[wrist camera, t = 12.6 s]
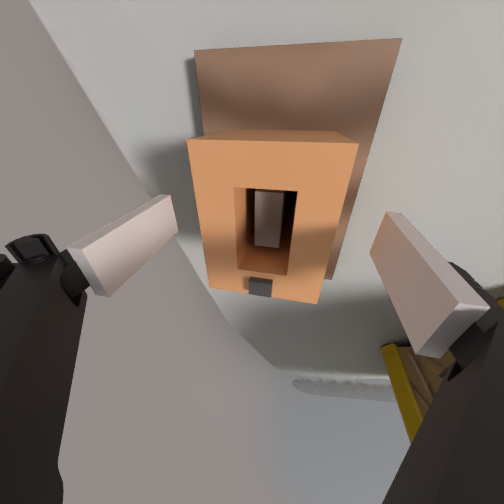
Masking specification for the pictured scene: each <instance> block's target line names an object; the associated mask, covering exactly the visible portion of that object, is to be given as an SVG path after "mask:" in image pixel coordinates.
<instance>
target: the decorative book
mask: <svg viewBox="0 0 504 504" xmlns="http://www.w3.org/2000/svg"><path fill="white" fill-rule="evenodd" d="M496 302H497V303H498V304H499V305H500V306H501V307H502V308H503V309H504V298H502V299H499V300H497V301H496ZM381 350H382V354H383V357H384V360H385V364H386V367H387V370H388V374H389V377H390V380H391V384H392V387H393V390H394V394H395V397H396V400H397V403H398V406H399V409H400V412H401V415H402V418H403V421H404V425H405V428H406V431H407V434H408V437H409V440H410V443H412V441H413V439H414V437H415V435H416V433H417V431H418V429H419V427H420V425H421V423H422V421H423V419H424V417H425V415H426V413H427V411H428V409H429V407H430V404H431V402H432V400H433V398H434V396H435V394H436V392H437V390H438V388H439V386H440V384H441V382H442V380H443V378H444V377H443V378H440V377H439V376H438V375H440V374H441V373H442V372H443V371H444V370H445V369H446V368H447V367H448V366H449V365H450V364H452V363H453V362H454V361H455V360H456V359H455V358H454V356H453V355H452V353H451V351H450V350H448V351H447V352H446V353H445V354H444V355H443V356H442V357H441V358H440V359H439V358H433V357H428V356H423V355H417V354H415V352H414V350H413V348H412V347H398V346H396V345H395V344H394V343H392V344H389V345H386V346H384V347H382V348H381Z"/></svg>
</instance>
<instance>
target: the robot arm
mask: <svg viewBox="0 0 504 504" xmlns="http://www.w3.org/2000/svg"><path fill="white" fill-rule="evenodd" d="M178 232H179V230H178V226H177V222H176V218H175V213H174V209H173V205H172V201H171V196H170V195H163V194H159V195H158V196H156V197H154V198H152V199H151V200H149V201H147V202H145V203H144V204H142V205H140V206H138V207H137V208H135V209H133V210H131V211H130V212H128V213H126V214H124V215H122V216H121V217H119V218H117V219H115V220H114V221H112V222H110V223H108V224H106V225H105V226H103V227H102V228H100V229H98V230H96V231H94V232H92V233H91V234H89V235H87V236H85V237H84V238H82V239H80V240H78V241H77V242H75V243H73V244H71V245H69V246H68V247H67V249H66V250H64V251H62V252H61V253H60V252H59V251H58V250H57V248H56V246H55V245H54V243H53V242H52V240H51V239H50V237H49V236H48V235H46V234H33V235H29V236H24V237H21V238H19V239H16V240H14V241H12V242H10V243H8V244H7V245H6V246H5V247H6V248H7V249H8V251H9V252H10V253H11V254H12V255H13V257H14V258H15V259H16V260H17V262H18V263H12V262H11V261H10V260H9V259H8V258H7V256H6V255H4V254H0V504H62V503H63V481H62V478H61V476H60V473H59V470H58V456H59V450H60V445H61V439H62V434H63V428H64V423H65V417H66V412H67V406H68V401H69V395H70V389H71V384H72V379H73V373H74V368H75V362H76V356H77V351H78V346H79V339H80V334H81V329H82V324H83V318H84V313H85V307H86V302H87V293H86V292H85V289H86V288H88V287H89V286H91V288H92V289H93V291H94V293H95V294H96V295H100V296H105V297H110V296H111V295H112V294H113V293H114V292H115V291H116V290H117V289H118V288H120V287H121V286H122V285H123V284H124V283H125V282H126V281H127V280H128V279H129V278H130V277H131V276H132V275H133V274H134V273H135V272H136V271H138V270H139V269H140V268H141V267H142V266H143V265H144V264H145V263H146V262H147V261H148V260H149V259H150V258H151V257H152V256H153V255H154V254H156V253H157V252H158V251H159V250H160V249H161V248H162V247H163V246H164V245H165V244H166V243H167V242H168V241H169V240H170V239H171V238H172V237H174V236H175V235H176V234H177V233H178ZM370 255H371V257H372V259H373V262H374V264H375V266H376V268H377V270H378V273H379V275H380V277H381V279H382V281H383V284H384V286H385V288H386V290H387V292H388V295H389V297H390V299H391V301H392V303H393V306H394V308H395V310H396V312H397V314H398V317H399V319H400V321H401V323H402V325H403V328H404V330H405V332H406V334H407V336H408V339H409V341H410V343H411V345H412V348H413V350H414V352H415V354H417V355H423V356H428V357H433V358H439V359H440V358H441V357H442V356H443V355H444V354H445V353H446V352H447V351H448V350H450V351H451V353H452V355H453V356H454V358H455V359H456V360H455V361H454V362H453V363H452V364H450V365H449V366H448V367H447V368H446V369H445V370H444V371H443V372H442V373H441V374H440V375H438V376H439V377H440V378H443V377H444V378H443V380H442V382H441V384H440V386H439V388H438V390H437V392H436V394H435V396H434V398H433V400H432V402H431V404H430V407H429V409H428V411H427V413H426V415H425V417H424V419H423V421H422V423H421V425H420V427H419V429H418V431H417V433H416V435H415V437H414V439H413V441H412V443H411V445H410V447H409V450H408V451H407V454H406V456H405V458H404V460H403V462H402V464H401V466H400V468H399V471H398V472H397V474H396V476H395V478H394V480H393V482H392V484H391V486H390V488H389V490H388V492H387V494H386V496H385V499H384V501H383V503H382V504H504V309H503V308H502V307H501V306H500V305H499V304H498V303H497V302H496V301H495V300H494V299H493V298H492V297H491V296H490V295H489V294H488V293H487V292H486V291H485V290H484V289H482V287H481V286H480V285H479V284H478V283H477V282H475V281H474V279H473V278H472V277H471V276H470V275H469V274H468V273H467V272H466V271H465V270H463V269H462V268H460V267H459V266H457V265H455V264H454V263H452V262H447V261H446V260H445V259H444V258H443V257H442V255H441V254H440V253H439V252H438V251H437V250H436V249H435V248H434V247H433V246H432V245H431V244H430V243H429V242H428V241H427V240H426V239H425V237H424V236H423V235H422V234H421V233H420V232H419V231H418V230H417V229H416V228H415V227H414V226H413V225H412V224H411V223H410V222H409V221H408V220H407V218H406V217H405V216H404V215H403V214H402V213H396V212H386V213H385V215H384V218H383V220H382V223H381V225H380V228H379V230H378V233H377V235H376V238H375V240H374V243H373V245H372V248H371V250H370Z"/></svg>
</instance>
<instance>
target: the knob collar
mask: <svg viewBox="0 0 504 504" xmlns="http://www.w3.org/2000/svg"><path fill="white" fill-rule="evenodd" d="M186 141H187V147H188V153H189V160H190V166H191V173H192V179H193V185H194V192H195V198H196V204H197V211H198V217H199V224H200V230H201V236H202V243H203V249H204V256H205V262H206V268H207V275H208V281H209V287H210V288H216V289H222V290H228V291H235V292H241V293H247V294H252V295H259V296H265V297H273V298H279V299H286V300H292V301H298V302H305V303H311V304H317V303H318V299H319V295H320V291H321V287H322V284H323V280H324V276H325V272H326V268H327V264H328V261H329V257H330V253H331V249H332V245H333V242H334V238H335V234H336V230H337V226H338V223H339V219H340V215H341V211H342V207H343V204H344V200H345V196H346V192H347V188H348V184H349V181H350V177H351V173H352V169H353V165H354V162H355V158H356V154H357V150H358V146H359V143H358V142H356V141H353V140H351V139H349V138H347V137H345V136H343V135H341V134H339V133H337V132H335V131H305V130H231V131H226V132H221V133H216V134H211V135H206V136H200V137H195V138H190V139H186ZM256 189H271V190H286V191H297V192H296V200H295V208H294V216H293V219H284V224H283V229H282V234H281V239H280V245H279V248H274V247H265V246H256V245H255V191H256Z"/></svg>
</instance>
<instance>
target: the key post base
mask: <svg viewBox="0 0 504 504" xmlns="http://www.w3.org/2000/svg"><path fill="white" fill-rule="evenodd" d="M401 42H402V38H394V39H377V40H360V41H343V42H326V43H309V44H292V45H275V46H258V47H241V48H223V49H206V50H194V53H195V62H196V71H197V80H198V89H199V97H200V106H201V115H202V124H203V133H204V136H206V135H211V134H216V133H221V132H226V131H231V130H305V131H335V132H337V133H339V134H341V135H343V136H345V137H347V138H349V139H351V140H353V141H356V142H358V143H359V146H358V150H357V154H356V158H355V162H354V165H353V169H352V173H351V177H350V181H349V184H348V188H347V192H346V196H345V200H344V204H343V207H342V211H341V215H340V219H339V223H338V226H337V230H336V234H335V238H334V242H333V245H332V249H331V253H330V257H329V261H328V264H327V268H326V272H325V276H324V279H329V280H332V278H333V274H334V271H335V267H336V264H337V261H338V257H339V254H340V250H341V247H342V243H343V240H344V237H345V233H346V230H347V226H348V223H349V219H350V216H351V213H352V209H353V206H354V202H355V199H356V196H357V192H358V189H359V185H360V182H361V178H362V175H363V172H364V168H365V165H366V161H367V158H368V155H369V151H370V148H371V144H372V141H373V137H374V134H375V131H376V127H377V124H378V120H379V117H380V114H381V110H382V107H383V103H384V100H385V96H386V93H387V90H388V86H389V83H390V79H391V76H392V72H393V69H394V66H395V62H396V59H397V55H398V52H399V49H400V45H401ZM296 192H297V191H286V190H271V189H256V191H255V245H256V246H265V247H274V248H279V245H280V239H281V234H282V229H283V224H284V219H293V216H294V208H295V200H296Z"/></svg>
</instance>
